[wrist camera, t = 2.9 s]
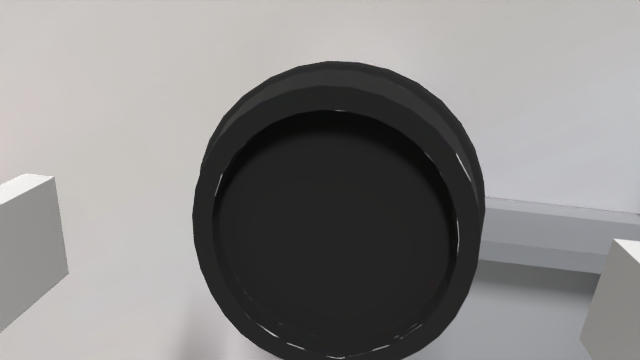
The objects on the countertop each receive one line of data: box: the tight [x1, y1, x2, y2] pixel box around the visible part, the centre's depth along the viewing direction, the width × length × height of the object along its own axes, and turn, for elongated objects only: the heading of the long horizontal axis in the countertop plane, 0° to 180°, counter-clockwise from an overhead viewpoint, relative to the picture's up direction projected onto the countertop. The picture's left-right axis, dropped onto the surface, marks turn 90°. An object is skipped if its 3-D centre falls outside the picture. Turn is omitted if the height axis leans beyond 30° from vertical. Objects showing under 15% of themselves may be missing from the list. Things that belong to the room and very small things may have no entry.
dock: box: [402, 197, 640, 360], centre depth 26 cm, size 14×14×6 cm
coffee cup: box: [192, 61, 486, 360], centre depth 18 cm, size 8×8×15 cm
